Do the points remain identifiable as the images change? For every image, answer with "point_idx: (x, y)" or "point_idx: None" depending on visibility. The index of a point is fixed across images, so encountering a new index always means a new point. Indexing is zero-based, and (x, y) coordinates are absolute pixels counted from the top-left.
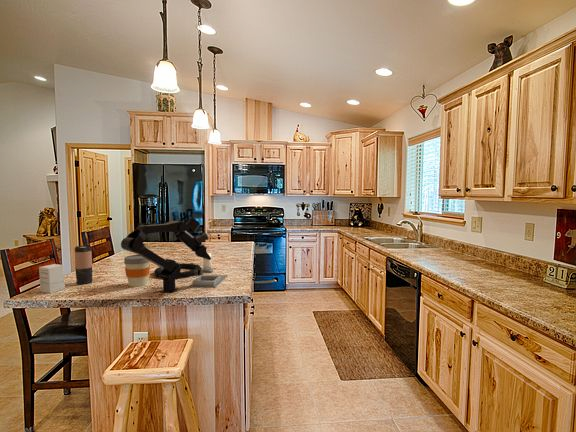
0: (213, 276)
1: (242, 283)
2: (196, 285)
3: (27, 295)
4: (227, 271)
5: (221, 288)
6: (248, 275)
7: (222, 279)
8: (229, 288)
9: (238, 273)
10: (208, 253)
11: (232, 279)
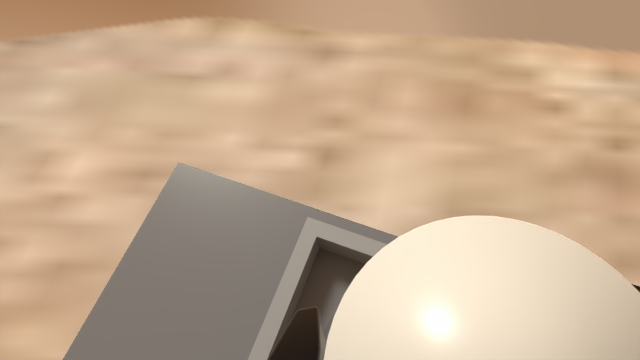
0: (291, 298)
1: (446, 71)
2: None
3: None
4: (12, 161)
5: (592, 237)
6: (223, 22)
7: (318, 213)
8: (591, 170)
9: (129, 81)
10: (500, 327)
11: (305, 133)
